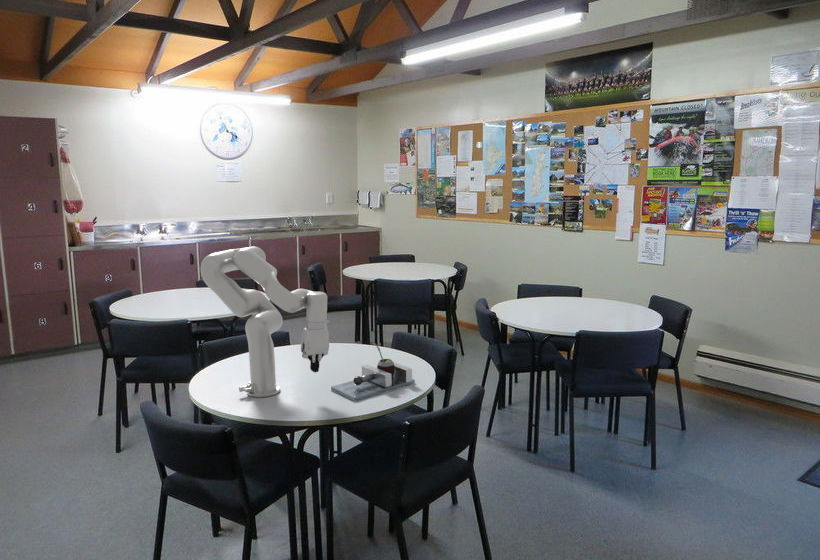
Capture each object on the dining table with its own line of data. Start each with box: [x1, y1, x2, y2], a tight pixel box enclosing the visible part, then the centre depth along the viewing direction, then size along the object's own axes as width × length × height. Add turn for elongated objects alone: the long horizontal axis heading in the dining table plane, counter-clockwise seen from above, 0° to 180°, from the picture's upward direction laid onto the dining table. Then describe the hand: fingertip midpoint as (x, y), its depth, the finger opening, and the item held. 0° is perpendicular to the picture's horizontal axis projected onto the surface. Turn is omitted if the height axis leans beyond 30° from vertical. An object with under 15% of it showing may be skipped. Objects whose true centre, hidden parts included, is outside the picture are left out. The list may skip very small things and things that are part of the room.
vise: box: [330, 361, 416, 402], centre depth 232 cm, size 30×16×6 cm, turn 130°
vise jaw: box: [352, 364, 392, 387], centre depth 230 cm, size 12×16×5 cm
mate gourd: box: [372, 342, 395, 379], centre depth 235 cm, size 8×8×15 cm
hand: (314, 370), depth 221 cm, fingers closed
